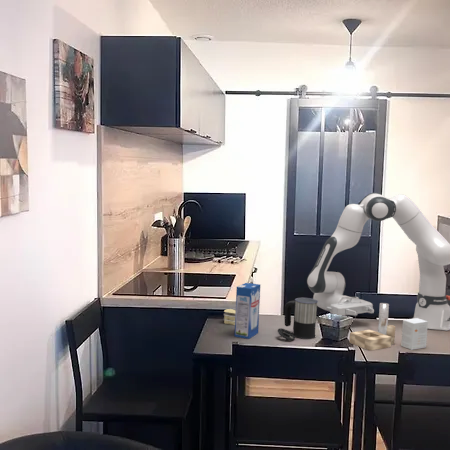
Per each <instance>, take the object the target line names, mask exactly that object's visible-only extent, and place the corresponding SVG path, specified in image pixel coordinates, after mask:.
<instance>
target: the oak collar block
mask: <svg viewBox="0 0 450 450" xmlns="http://www.w3.org/2000/svg"><path fill="white" fill-rule="evenodd" d="M349 344H352V345H355V346H357V347H360V348H362V349H365V350H366V351H370V352H371V351H377V350H381V349H387V348H391V346H392V345H391V337H390V336H387V335H384V334H382V333H379V332H378V331H376V330H372V329H366V330H365V329H364V330H359V331H353V332H349Z"/></svg>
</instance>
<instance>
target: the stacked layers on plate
mask: <svg viewBox="0 0 450 450" xmlns="http://www.w3.org/2000/svg"><path fill="white" fill-rule="evenodd" d="M223 312H224V313H223V316H224V317H223V321H224V322H223V323H224V324H226V325H233V326H235V314H236V309H232V308H229V309H228V308H226V309H225V310H224V311H223Z"/></svg>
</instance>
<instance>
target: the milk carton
mask: <svg viewBox="0 0 450 450" xmlns="http://www.w3.org/2000/svg"><path fill="white" fill-rule="evenodd" d="M235 291H236V292H235V293H236V294H235V295H236V299H235V310H236V314H235V325H234V337H236V338H241V339H247V340H249V339H251V338H253V337H254V336H256V335H257V334H259V323H260V321H259V320H260V305H261V304H260V302H261V300H260V299H261V284H259V283H253V282H252V283H249V282H245V283H242V284H240V285H238V286H236V290H235Z"/></svg>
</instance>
